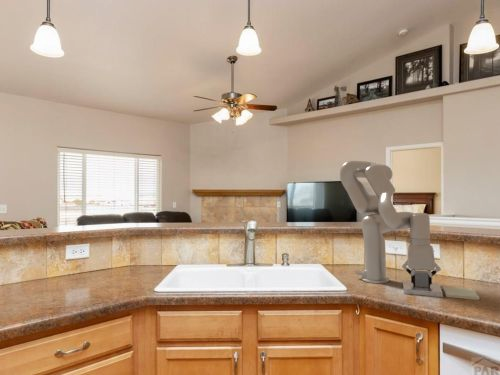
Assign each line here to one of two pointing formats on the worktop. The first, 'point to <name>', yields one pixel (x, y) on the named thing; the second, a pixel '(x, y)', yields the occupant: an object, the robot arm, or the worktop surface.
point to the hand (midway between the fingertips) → (421, 284)
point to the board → (460, 293)
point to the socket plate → (422, 289)
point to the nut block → (421, 279)
